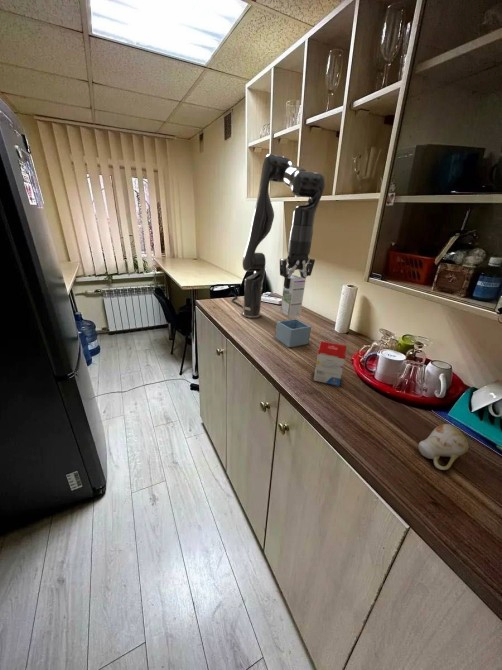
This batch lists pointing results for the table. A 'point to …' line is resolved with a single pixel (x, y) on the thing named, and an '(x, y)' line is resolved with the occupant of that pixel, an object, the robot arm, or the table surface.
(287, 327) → the tidy
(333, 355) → the ink box
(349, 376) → the table surface
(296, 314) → the syrup box
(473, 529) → the table surface
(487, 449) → the table surface
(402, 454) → the table surface
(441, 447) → the mug
